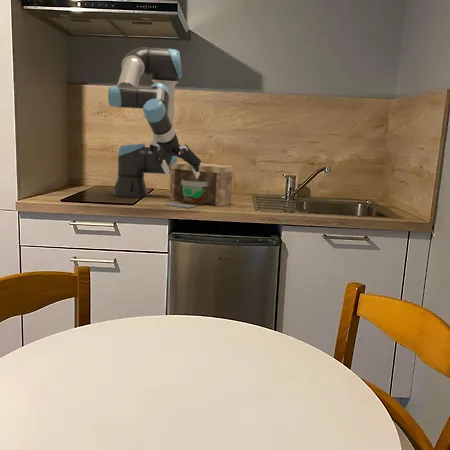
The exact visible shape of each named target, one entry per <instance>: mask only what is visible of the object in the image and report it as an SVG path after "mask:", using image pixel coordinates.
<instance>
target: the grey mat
mask: <svg viewBox="0 0 450 450" xmlns="http://www.w3.org/2000/svg"><path fill="white" fill-rule="evenodd" d="M164 206H166V207H167V206H168V207H176V208H183V209H191V208H195V206H196V207H198V205H190V204H184V203H181V202H170V203H166V204H164Z"/></svg>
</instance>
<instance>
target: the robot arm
mask: <svg viewBox="0 0 450 450" xmlns="http://www.w3.org/2000/svg"><path fill="white" fill-rule="evenodd" d="M120 65H121V66H120V67H121V72H120V75H119V78H118V82H117V84H116V85H111V86H109V87H108V91H107V93H108V94H107V97H108V100H107V101H108V105H109V106H110V107H114V108H115V107H116V108H123V109H124V108H126V109H127V108H128V109H141V110H142V111H143V113H144V114H143V115H144V118H145V119H146V121H147V123H148V124H149V127H150V129H151V131H152V133H153V134H152V136H153V138H152V140H151V141H150V143H149V146H146V145H145V143H132V144H131V143H130V144H122V145H120V146H119V148H118V153H117V157H118V158H117V159H118V163H117V165H118V167H117V180H116V182H115V185H114V188H113V196H116V197H122V198H145V197H148V189H147V184H146V181H145V174H161V175H165V176H166V177H168V176H169V175H170V174H171V163H175V162H178V158H179V159H181V160H183V162H187V163H189V164H190V165H191V166H192V167H191V168H192V170H193V173H194V175H195V177H196V179H198V177H199V175H200V172H199V165H200V163H202V159H200V158H199V157H198V156H197V155H196V153H194V151H192V150H191V148H189V146H188V144H184V146H183V145H180V144H179V138H178V136H177V133H176V131H175V129H174V115H175V114H174V110H175V90H176V89H175V86H176V85H177V84H178V83H179V79H181V78H182V61H181V53H180V51H179V50H177V49H173V48H165V47H162V48H161V47H148V46H144V47H143V46H142V47H138V48H135V49H133V50H131V51H129V52H128V53H127V54H126V55H125V56H124V57H123V59H122V61H121V64H120ZM141 76H150V77H151V82H153V84H151V86H149V87H138V86H139V82H140V79H141Z"/></svg>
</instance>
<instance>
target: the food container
mask: <svg viewBox="0 0 450 450" xmlns="http://www.w3.org/2000/svg"><path fill="white" fill-rule="evenodd" d="M181 185H182V186H183V200H182V201H183V203H182V204H184V203H185V204H190V205H197V206H204V205H205V204H206V203H205V197H206V190H207V186H208V181H207V182H196V181H185V180H184V179H182V182H181ZM203 204H204V205H203Z"/></svg>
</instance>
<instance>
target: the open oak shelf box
mask: <svg viewBox="0 0 450 450" xmlns="http://www.w3.org/2000/svg"><path fill="white" fill-rule="evenodd" d="M191 167H192V166H191V165H190V164H189V163H187V162H186V161H177V162H175V163H171V174H169V177H170V180H169V201H170V202H171V201H172V202H174V201H175V202H176V201H183V186H182V185H181V182H182V179H184V180H185V181H196V182H207V181H208V186H207V190H206V197H205V204H209V203H210V204H211V205H214V206H215V207H219V208H220V207H223V206H226V205H230V204H232V191H233V173H234V166H233V165H225V164H223V165H222V164H215V163H214V164H213V163H212V164H211V163H202V162H201V163H200V165H199V172H200V175H199V177H198V179H196V177H195V175H194V173H193V170H192V168H191Z"/></svg>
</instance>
